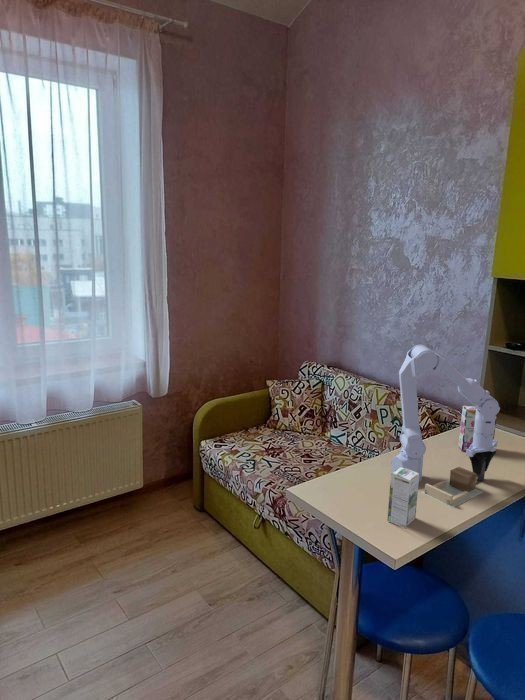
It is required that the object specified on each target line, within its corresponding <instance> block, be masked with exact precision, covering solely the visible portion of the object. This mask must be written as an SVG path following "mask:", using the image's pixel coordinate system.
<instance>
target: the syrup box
mask: <svg viewBox="0 0 525 700" xmlns="http://www.w3.org/2000/svg"><path fill="white" fill-rule="evenodd" d="M419 483H420V482H419V473H416V472H414V471H412V470H409V469H406V468H401V467H400V468H399V469H398V470H396V471H395V472H394V473H392V474H391V473H390V482H389V495H388V508H387V522H388V521H389V522H388V523H390V522H391V524H393V523H394V525H396V526H399V527H402V528H404V529H406V527H408V526H409V525H410V524H411V523H413V521H414V520H415V519H416V513H417V504H418V503H417V502H418V493H419Z"/></svg>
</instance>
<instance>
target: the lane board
mask: <svg viewBox="0 0 525 700" xmlns="http://www.w3.org/2000/svg"><path fill="white" fill-rule="evenodd" d="M449 483H450V478H449V479H447V480H441V481H439V482H437V483H435V484H433V485H431V484H430V483H425V484H424V490H423V491H421V492H420V493H421V494H422V495H425V496H427V497H428V498H430V499H433V500H435V501H437V502H438V503H441V504H442V505H445V506H447V507H449V508H451V509H454V508H455V507H457V506H460V505H461V504H463V503H466V502H467V501H468V500H471V499H474V498H475V497H477V496H478V495H482V494H483V493H484V491H482V490H480V489H477V488H475V489H473V490H471V491H469V492H467V491H462V490H459V489H457V488H455V487H453V486H450V485H449Z"/></svg>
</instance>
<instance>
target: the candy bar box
mask: <svg viewBox="0 0 525 700" xmlns="http://www.w3.org/2000/svg"><path fill="white" fill-rule="evenodd" d="M476 409H477V408H476V407H474V405H462V408H461V416H460V417H461V418H460V427H459V438H458V445H457V446H458V448H459V449H460V451H461V452H466V449H468V448H469V447H470V446H471V444H472V443H473V435H474V425H475V416H476ZM477 410H478V409H477ZM497 416H498V413H497V414H496V416H495V426H494V435H493V439H494V440H495V435H496V434H495V433H496V425H497Z"/></svg>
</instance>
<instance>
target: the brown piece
mask: <svg viewBox="0 0 525 700" xmlns="http://www.w3.org/2000/svg"><path fill="white" fill-rule="evenodd" d="M485 466H486V461H484V463H483V465H482V470H481V473H480V474H479V475H478V474H476V473H474V472H473V471H472V470H468V469H466V468H464V467H461V466H458V467H456V468H453V469H451V470H450V473H449V479H450V483H449V485H450V486H453V487H455V488H457V489H459V490H462V491H467V492H469V491H471V490H473V489H476V486H477V485H476V483H477V481H484V480H485V474H486V472H485Z"/></svg>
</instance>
